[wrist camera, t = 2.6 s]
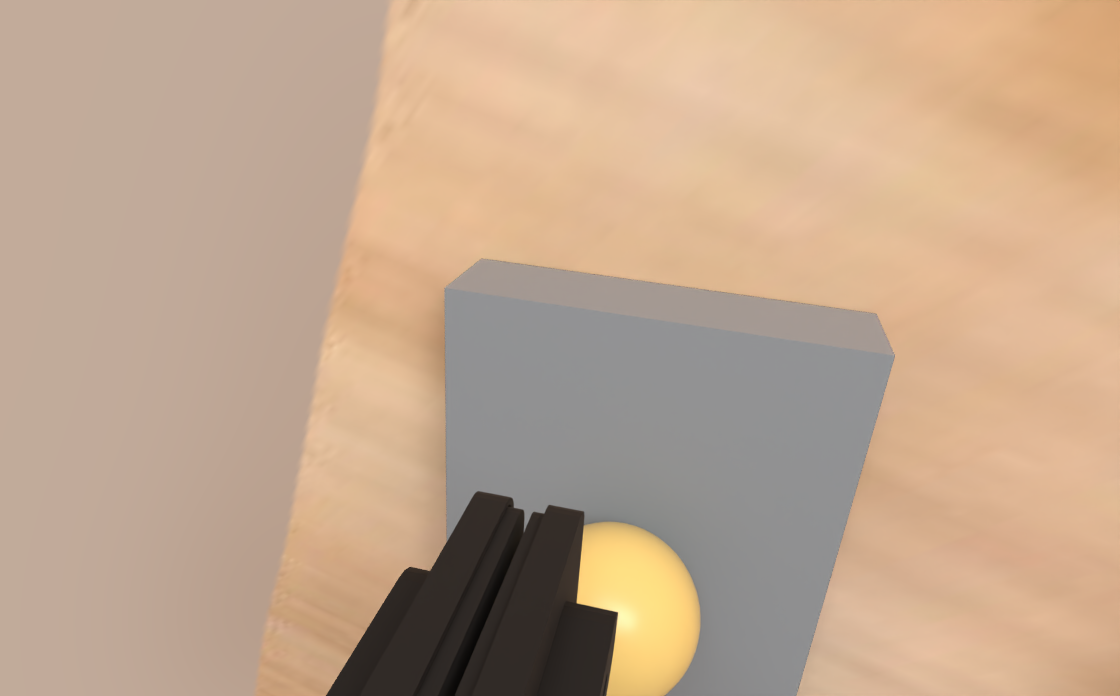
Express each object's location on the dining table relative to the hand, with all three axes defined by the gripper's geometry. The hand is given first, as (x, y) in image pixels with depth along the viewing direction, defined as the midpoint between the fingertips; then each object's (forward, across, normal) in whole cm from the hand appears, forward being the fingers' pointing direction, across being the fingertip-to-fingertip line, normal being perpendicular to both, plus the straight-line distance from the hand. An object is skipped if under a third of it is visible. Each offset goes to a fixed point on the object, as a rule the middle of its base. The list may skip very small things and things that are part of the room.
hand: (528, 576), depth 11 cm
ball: (+7, -1, +7) cm, 10 cm away
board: (+12, -1, +11) cm, 17 cm away
